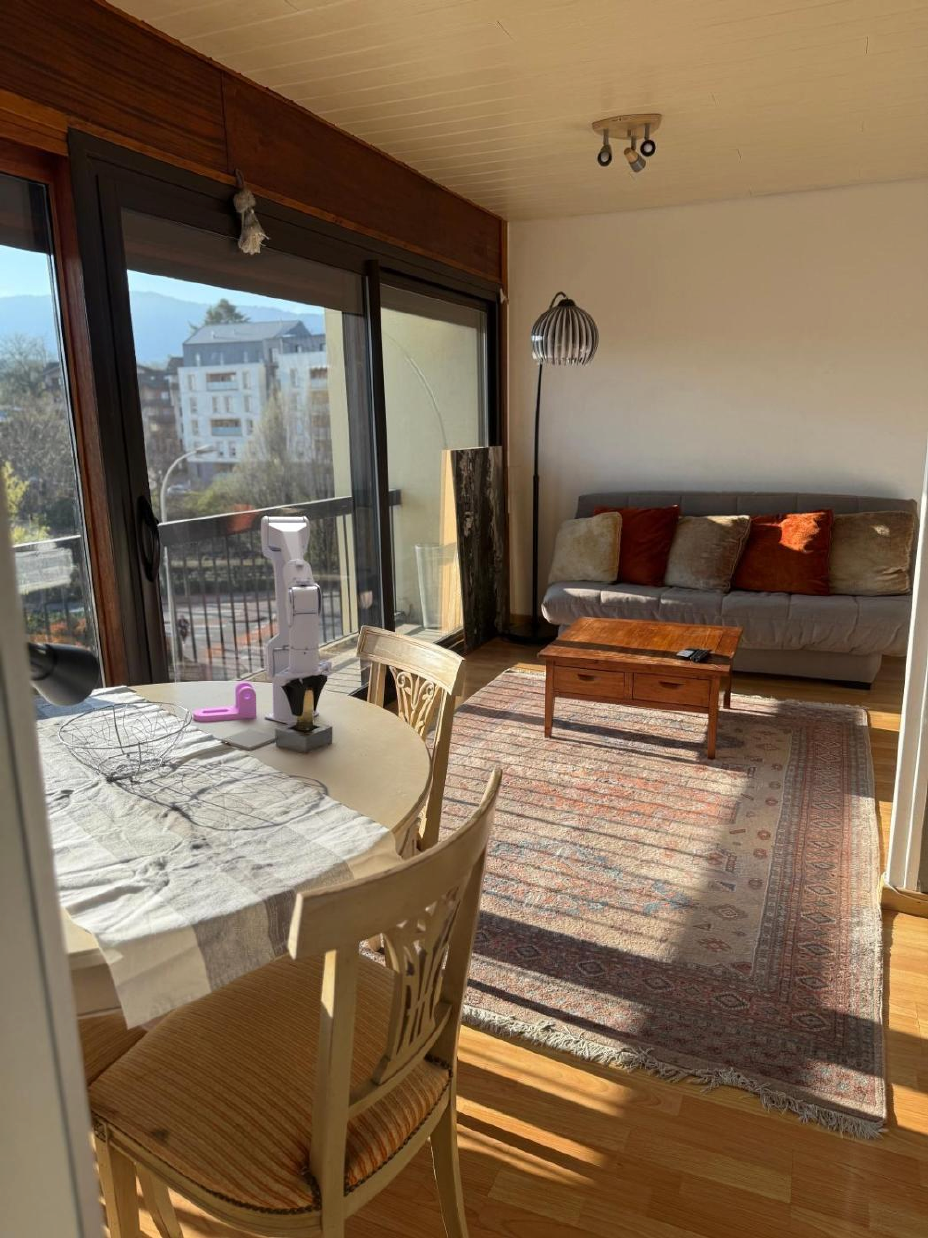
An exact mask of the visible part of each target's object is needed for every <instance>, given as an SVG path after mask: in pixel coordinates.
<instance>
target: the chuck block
mask: <svg viewBox="0 0 928 1238" xmlns="http://www.w3.org/2000/svg"><path fill="white" fill-rule="evenodd" d="M274 731H275V732H274V734H275V735H274V736H275V741H274V742H275V743H274V746H275V747H280V748H284V749H287V750H290V751H295V752H297V753H300V754H304V755H307V754H310V753H312V752H315V751H316V750H318V749H322V748H324V747H326V746H328V745H331V744H333V726H332V725H329V724H328V725H327V724H324V723H320V722H317V721H314V727H313V729H310V730H298V729H296V728H295V722H293V723H290V724H287V723H286V724H285V725H282V726H279V727H276V728H275V730H274Z"/></svg>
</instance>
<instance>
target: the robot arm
mask: <svg viewBox="0 0 928 1238" xmlns="http://www.w3.org/2000/svg"><path fill="white" fill-rule="evenodd" d="M310 535H311V527H310V520H309V519H308V518H307V517H306V516H305V515H304V516H303V515H302V516H267V515H265V516H263V517H262V518H261V521H260V536H261V537H260V539H261V551H262V554H263V555H262V556H263V557H265V558H267V559H269V560H270V561H271V564H272V568H273V574H274V575H273V576H274V577H273V578H274V580H273V581H274V596H275V609H276V623H277V624H276V627H277V634H276V635H274V636H272V638H270V640H268V641H267V643H266V645H265V655H264V662H265V663H264V664H265V673H266V676H267V677H268V678H269V679H272V712H271V713H268V714H266V715H264V717H263V718H264V719H268V720H272V721H275V722H279V723H283V724H286V725H287V724H290V723H293V722H295V716H299V717H300V716H302V713H303V701H304V695H305V691H306V688H307V687H312V688H313V689H314V717H315V716H318V715H320V711H318V710H317V707H318V704H319V701H320V700H319V699H320V697H321V694H322V691H323V689H324V687H325V686H326V683H327V682H328V675H325V674H323V673H325V672H327V673H329V672H332V663H333V662H332V661H329V660H321V661H319V642H320V641H319V638H320V637H319V628H320V627H319V625H320V624H319V615H321V614H322V609H323V595H322V589H321V586H320V585H319V584H318V583H317V582H315V579H314V575H313V571H312V567H311V565H310V563H309V562H308V561H306V560H304V556H305V555H306V551H307V549H308V545H309V542H310V537H311V536H310Z"/></svg>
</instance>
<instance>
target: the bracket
mask: <svg viewBox="0 0 928 1238" xmlns="http://www.w3.org/2000/svg"><path fill="white" fill-rule="evenodd" d="M192 714H193V717H192V718H193V720H194V719H195V721H196V720H197V721H196V722H202V721H203V722H205V723H206V722H216V721H227V720H228V721H230V720H243V719H254V718H255V719H256V718H257V693H256V692H255V689H254V687H253V685H252V683H250V682H249V681H246V680H245V681H240V682H238V683H237V684H236V686H235V705H230V706H229V705H228V706H218V707H206V708H205V707H204V708H200V709H196V710H194V711H193V712H192Z"/></svg>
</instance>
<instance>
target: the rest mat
mask: <svg viewBox="0 0 928 1238" xmlns="http://www.w3.org/2000/svg"><path fill="white" fill-rule="evenodd" d="M221 741H222V742H221ZM220 742H221V743H223V742H227V743H229V744H230V746H233V747H237V748H240V749H243V750H246V751H252V750H254V749H257V748H260V747H262V746H263V747H264V746H265V745H268V744H270V743H272V742H275V735H273V734H271V733H267V732H262V731H259V730H256V729H251V728H248V729H247V730H243V731H240V732H237V733H235V734H232V735H229V736H226V737H223V738H221V739H220ZM229 744H228V745H229Z"/></svg>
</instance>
